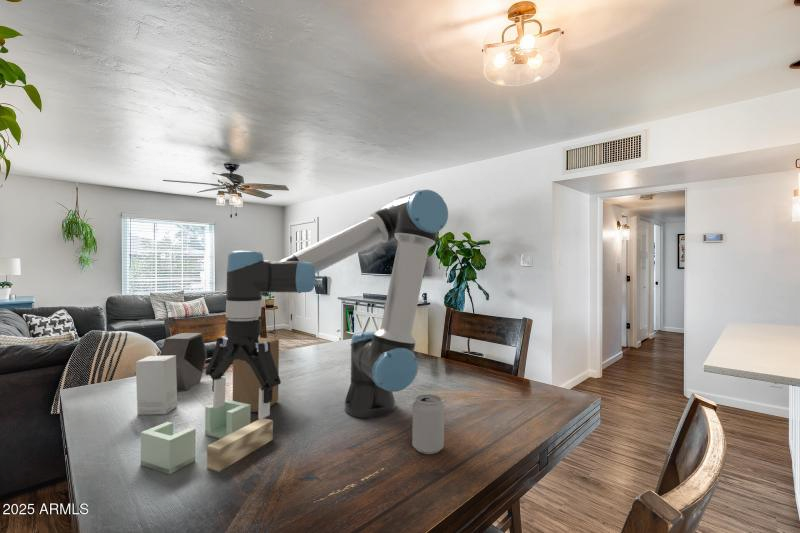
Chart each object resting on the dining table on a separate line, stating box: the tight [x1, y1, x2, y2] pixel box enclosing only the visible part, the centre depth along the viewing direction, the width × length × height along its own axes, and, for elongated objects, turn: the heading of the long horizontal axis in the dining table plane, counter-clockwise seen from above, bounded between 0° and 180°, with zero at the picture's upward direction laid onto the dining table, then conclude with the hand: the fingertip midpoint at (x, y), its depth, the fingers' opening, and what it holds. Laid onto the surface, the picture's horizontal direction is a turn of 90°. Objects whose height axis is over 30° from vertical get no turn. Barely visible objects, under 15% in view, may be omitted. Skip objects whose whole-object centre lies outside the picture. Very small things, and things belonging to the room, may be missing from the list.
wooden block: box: [232, 337, 280, 413], centre depth 116 cm, size 10×10×20 cm
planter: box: [159, 332, 208, 392], centre depth 134 cm, size 17×8×21 cm
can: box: [411, 393, 445, 455], centre depth 91 cm, size 8×8×12 cm
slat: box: [206, 417, 274, 473], centre depth 88 cm, size 16×4×5 cm, turn 157°
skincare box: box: [135, 355, 178, 416], centre depth 111 cm, size 8×7×16 cm
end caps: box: [140, 398, 252, 475], centre depth 90 cm, size 22×9×7 cm, turn 157°
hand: (240, 411), depth 87 cm, fingers open, 13 cm apart
